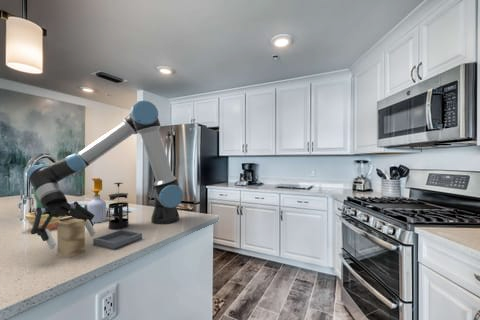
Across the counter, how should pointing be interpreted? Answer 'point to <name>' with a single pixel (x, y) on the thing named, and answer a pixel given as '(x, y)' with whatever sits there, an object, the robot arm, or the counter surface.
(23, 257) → the counter surface
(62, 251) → the oak block
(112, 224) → the french press
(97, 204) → the soap bottle
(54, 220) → the potted cactus
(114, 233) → the slate tray
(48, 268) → the counter surface
